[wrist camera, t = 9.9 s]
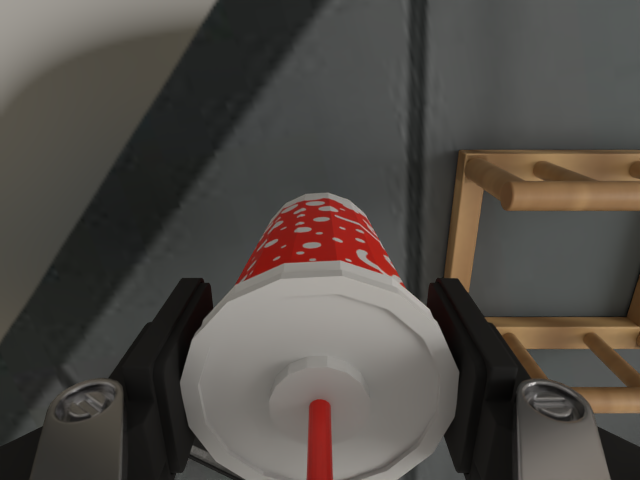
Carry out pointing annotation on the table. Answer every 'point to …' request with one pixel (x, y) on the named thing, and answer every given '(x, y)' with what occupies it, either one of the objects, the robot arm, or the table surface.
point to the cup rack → (553, 195)
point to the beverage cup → (319, 357)
